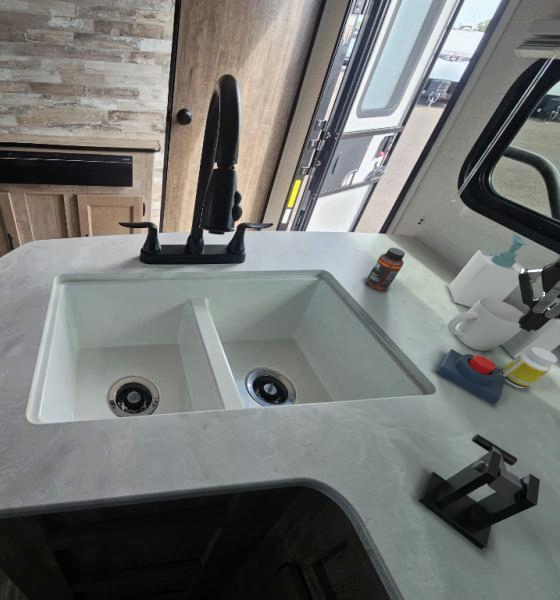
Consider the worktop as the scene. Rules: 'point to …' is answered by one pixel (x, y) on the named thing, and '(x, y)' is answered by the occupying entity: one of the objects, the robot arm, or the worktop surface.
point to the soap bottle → (488, 275)
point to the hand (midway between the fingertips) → (524, 327)
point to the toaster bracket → (468, 513)
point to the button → (482, 364)
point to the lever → (501, 469)
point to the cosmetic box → (535, 339)
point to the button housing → (471, 376)
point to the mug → (486, 324)
